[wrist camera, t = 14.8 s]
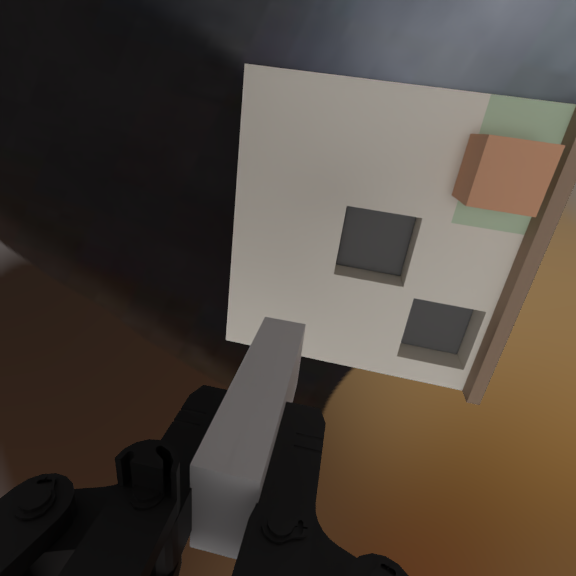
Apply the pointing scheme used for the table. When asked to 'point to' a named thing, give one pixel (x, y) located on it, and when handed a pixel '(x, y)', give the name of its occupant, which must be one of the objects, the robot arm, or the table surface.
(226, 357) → the table surface
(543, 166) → the block
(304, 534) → the robot arm
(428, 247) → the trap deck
